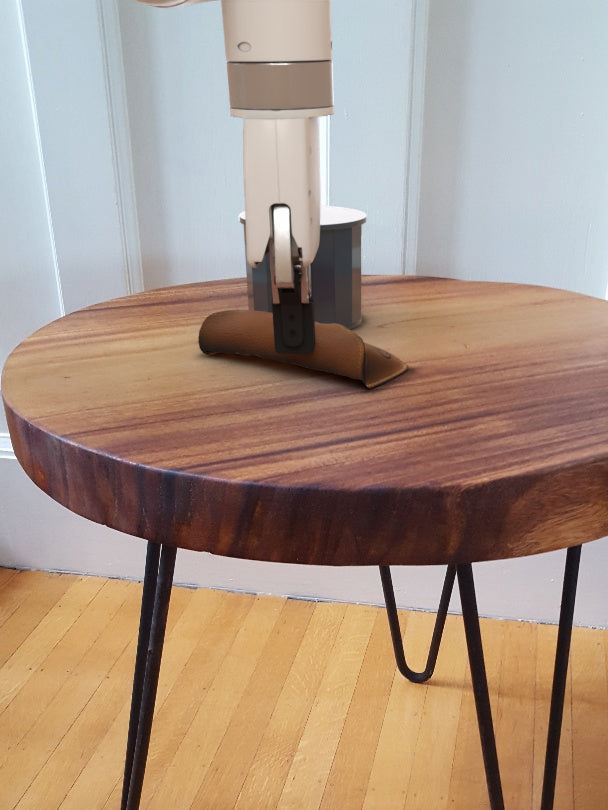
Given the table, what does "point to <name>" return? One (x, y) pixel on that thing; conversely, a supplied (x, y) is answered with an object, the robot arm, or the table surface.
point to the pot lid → (333, 218)
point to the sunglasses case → (331, 354)
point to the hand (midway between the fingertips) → (295, 350)
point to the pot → (321, 279)
